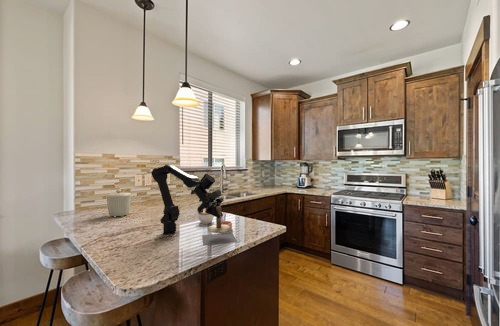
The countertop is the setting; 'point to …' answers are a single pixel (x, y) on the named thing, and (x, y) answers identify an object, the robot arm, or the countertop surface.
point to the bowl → (227, 224)
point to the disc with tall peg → (218, 224)
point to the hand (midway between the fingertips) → (221, 216)
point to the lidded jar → (205, 217)
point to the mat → (218, 239)
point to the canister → (118, 203)
